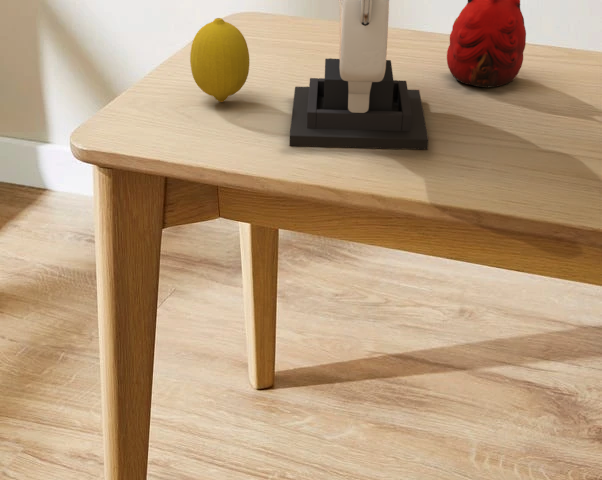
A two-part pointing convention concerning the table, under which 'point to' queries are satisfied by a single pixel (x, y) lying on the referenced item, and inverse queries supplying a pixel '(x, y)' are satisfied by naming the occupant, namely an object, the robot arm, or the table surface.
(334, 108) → the plug pad
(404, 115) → the socket pad
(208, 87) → the lemon
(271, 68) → the table surface
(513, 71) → the red clay folk toy
